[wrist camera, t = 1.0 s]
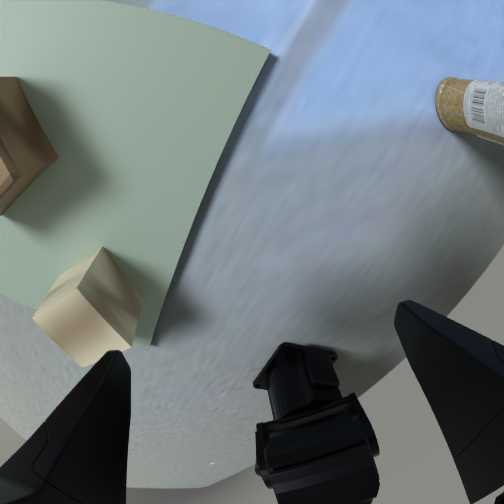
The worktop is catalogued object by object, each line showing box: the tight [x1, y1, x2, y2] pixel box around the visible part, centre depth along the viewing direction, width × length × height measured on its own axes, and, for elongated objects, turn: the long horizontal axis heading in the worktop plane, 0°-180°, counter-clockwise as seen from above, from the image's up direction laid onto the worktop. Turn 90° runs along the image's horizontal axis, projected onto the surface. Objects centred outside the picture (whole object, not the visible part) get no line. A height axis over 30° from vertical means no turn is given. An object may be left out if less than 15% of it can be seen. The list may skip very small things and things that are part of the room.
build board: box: [0, 0, 271, 350], centre depth 16 cm, size 24×22×1 cm
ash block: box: [32, 247, 144, 368], centre depth 18 cm, size 5×5×5 cm
